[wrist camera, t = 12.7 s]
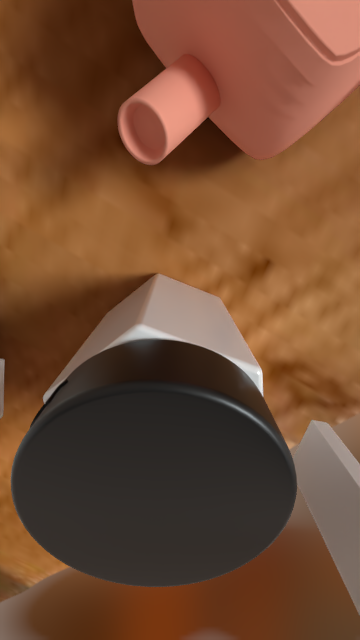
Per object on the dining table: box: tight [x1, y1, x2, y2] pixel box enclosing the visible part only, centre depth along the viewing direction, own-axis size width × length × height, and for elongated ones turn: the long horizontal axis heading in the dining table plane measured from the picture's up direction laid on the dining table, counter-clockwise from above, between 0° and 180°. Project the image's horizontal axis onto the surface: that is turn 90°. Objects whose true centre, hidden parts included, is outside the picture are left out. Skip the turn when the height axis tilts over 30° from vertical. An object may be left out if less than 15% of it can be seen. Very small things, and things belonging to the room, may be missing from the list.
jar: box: [11, 274, 297, 587], centre depth 13 cm, size 9×8×12 cm
